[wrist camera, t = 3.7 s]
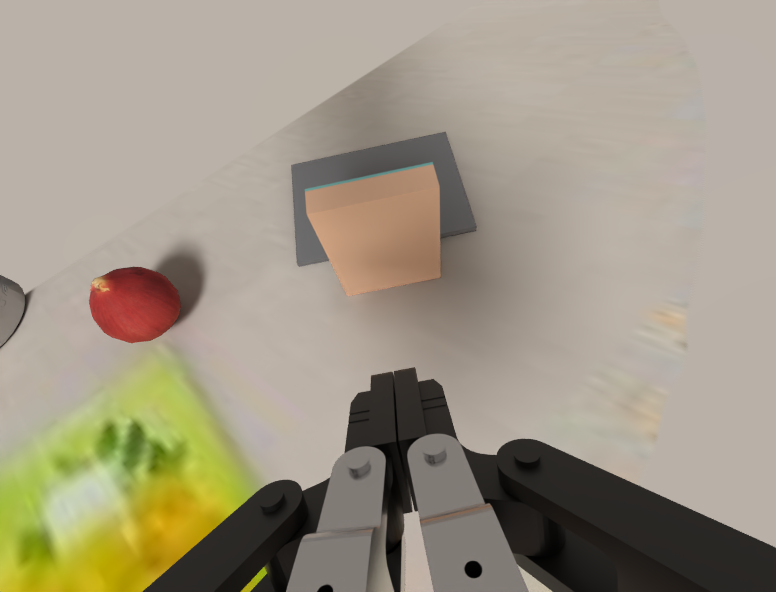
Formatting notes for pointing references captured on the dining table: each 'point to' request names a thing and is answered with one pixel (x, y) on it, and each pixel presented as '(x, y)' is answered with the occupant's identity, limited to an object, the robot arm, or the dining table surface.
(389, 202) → the tan flat block
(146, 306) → the onion
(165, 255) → the dining table surface
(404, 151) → the mat
